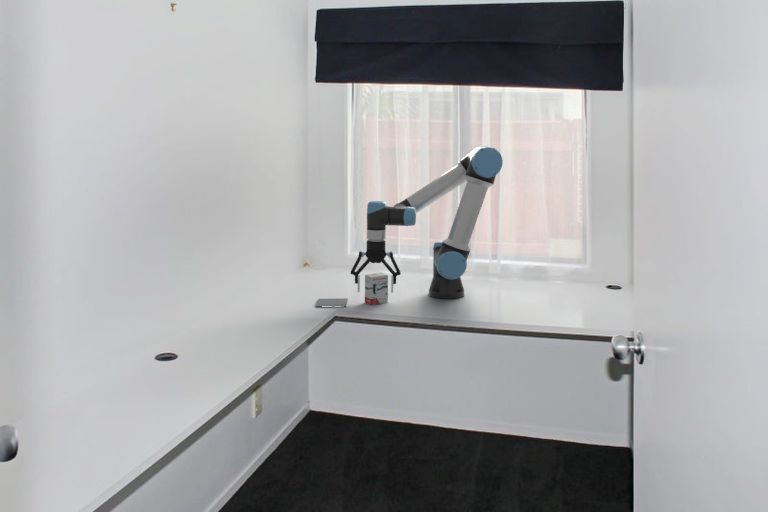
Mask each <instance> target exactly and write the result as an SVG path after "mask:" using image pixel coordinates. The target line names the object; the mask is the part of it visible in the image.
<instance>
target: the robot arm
mask: <svg viewBox="0 0 768 512" xmlns="http://www.w3.org/2000/svg"><path fill="white" fill-rule="evenodd" d="M503 164H504V163H503V156H502V153H500V152H499V151H498V150H497V149H496V148H495V147H493V146H488V145H484V146H483V145H482V146H477V147H475V148H474V149H473V150H471V151H470V152H469V153H468V154H466V155H465V156H464V157H462V159H460V160H458V161H457V163H456V165H455V166H453V167H452V168H451V169H449V170H448V171H446V172H445V173H443V174H441V175H440V176H438V177H437V178H435V179H433V180H432V181H431V182H429V183H427V184H426V185H425V186H423V187H422V188H420V189H419V190H417V191H415V192H413V194H411V195H409V196H408V197H407V198H405V199H403V200H402V201H400V202H398V203H396V204H395V205H393V206H388V205H387V202H386V201H383V200H373V201H372V200H370V201H369V202H367V205H366V206H367V208H366V209H367V210H366V240H367V241H366V252H364V251H361V250H360V251H358V257H357V259H356V261H355V262H354V265H353V266H352V268H351V269H350V275H353V276H354V284H356V285H357V293H360V292H361V291H360V290H361V289H360V288H361V285H360V284H361V280H360V279H361V275H360V274H361V272H362V271H363V270H364V269H365V268H366V267H367V266H368V265H369V264H370V263H371V264H375V263H376V264H380V263H382V264H383V266H384V267H385V268H387V270H388V271H389V273H391V280H390V281H391V282H390V285H391V286H390V292H391V293H394V285H396V284H397V277H398V276H400V275H401V270H400V268H399V266H398V264H397V262H396V260H395V258H394V253H393V251H389V252H386V235H387V234H386V232H387V227H386V226H398V227H399V226H402V227H413V226H415V225H416V222H417V213H419V212H421V211H423V210H424V209H425V208H426V207H429V206H430V205H431V204H433V203H435V202H436V201H437V200H439V199H441V198H442V197H443V196H445V195H447V194H448V193H450V192H452V191H453V190H455V189H456V188H457V187H459V186H461V185H462V184H464V183H465V182H466V184H465V188H464V190H463V193H462V196H461V199H460V202H459V204H458V207H457V209H456V212H455V216H454V219H453V221H452V225H451V227H450V231H449V234H448V235H447V238H446V239H444V240H442V241H435V242H434V243H433V247H432V250H433V256H432V258H433V260H432V261H433V262H432V265H433V267H432V268H433V269H432V270H433V271H432V273H433V274H432V276H433V277H432V279H431V282H430V285H429V288H428V295H429V297H432V298H437V299H446V300H449V299H458V298H462V297H464V296H465V289H464V285H463V282H462V279H461V277H462V276H463V275H464V273H466V270H467V265H468V263H467V262H468V261H467V260H468V258H469V256H470V252H471V249H470V246H469V243H470V240H471V238H472V235H473V233H474V229H475V226H476V224H477V221H478V218H479V215H480V213H481V210H482V207H483V204H484V201H485V199H486V198H485V197H486V195H487V192H488V190H489V188H490V187H492V186H494V184H495V181H496V178H497V176H498V174H499V173H500V171H501V170H502V168H503ZM364 256H365V257H366V258H367V259H366V260H365V261H364V262H363V263H362V265H360V267H359V268H358V269H357V267H358V265H359V264H360V262H361V260H362V258H364ZM386 256H387V257H388V258H389V259H390V260H391V263H392V265H393V267H394V269H395V270H394V269H393V267H392V266H391V265H390V264H389V263H388V262H387V261H386V259H385V258H386ZM356 269H357V270H356Z"/></svg>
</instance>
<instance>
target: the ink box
mask: <svg viewBox="0 0 768 512" xmlns="http://www.w3.org/2000/svg"><path fill="white" fill-rule="evenodd" d="M387 303H389V275H388V274H386V273H383V272H376V273H369V274H364V304H367V305H369V306H374V305H381V304H387Z"/></svg>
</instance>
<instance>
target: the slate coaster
mask: <svg viewBox="0 0 768 512" xmlns="http://www.w3.org/2000/svg"><path fill="white" fill-rule="evenodd" d="M348 300H349V298H318V300H317V303H316V305H315V308H323V307H322V306H344V307H343V308H347V306H346V305H348Z"/></svg>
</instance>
